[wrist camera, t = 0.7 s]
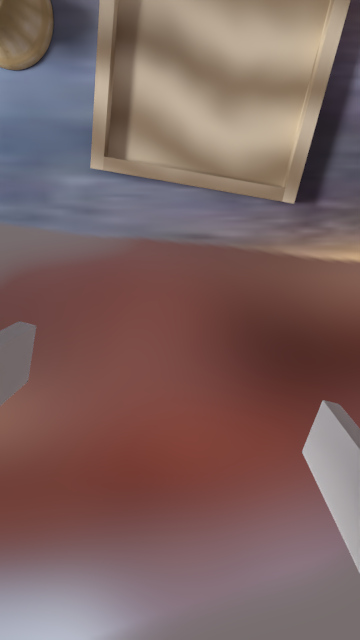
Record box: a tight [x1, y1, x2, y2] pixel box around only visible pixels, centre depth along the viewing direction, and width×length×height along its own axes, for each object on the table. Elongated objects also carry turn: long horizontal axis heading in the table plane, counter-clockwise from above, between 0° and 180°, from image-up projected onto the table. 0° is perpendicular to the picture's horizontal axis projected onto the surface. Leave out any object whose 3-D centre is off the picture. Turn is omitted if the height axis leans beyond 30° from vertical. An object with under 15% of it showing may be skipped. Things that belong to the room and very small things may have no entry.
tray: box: [91, 0, 351, 204], centre depth 30 cm, size 20×20×2 cm
